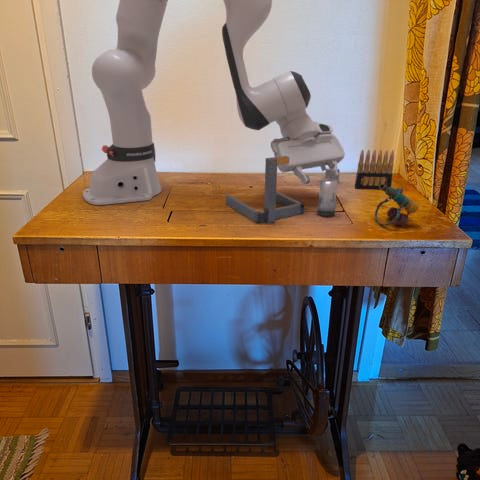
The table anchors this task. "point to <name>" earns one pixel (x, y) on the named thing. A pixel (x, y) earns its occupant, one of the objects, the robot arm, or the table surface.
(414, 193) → the table surface
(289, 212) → the grey metal bar frame
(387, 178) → the ammunition clip
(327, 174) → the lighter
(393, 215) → the binoculars
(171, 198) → the table surface
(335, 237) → the table surface
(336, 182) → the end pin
